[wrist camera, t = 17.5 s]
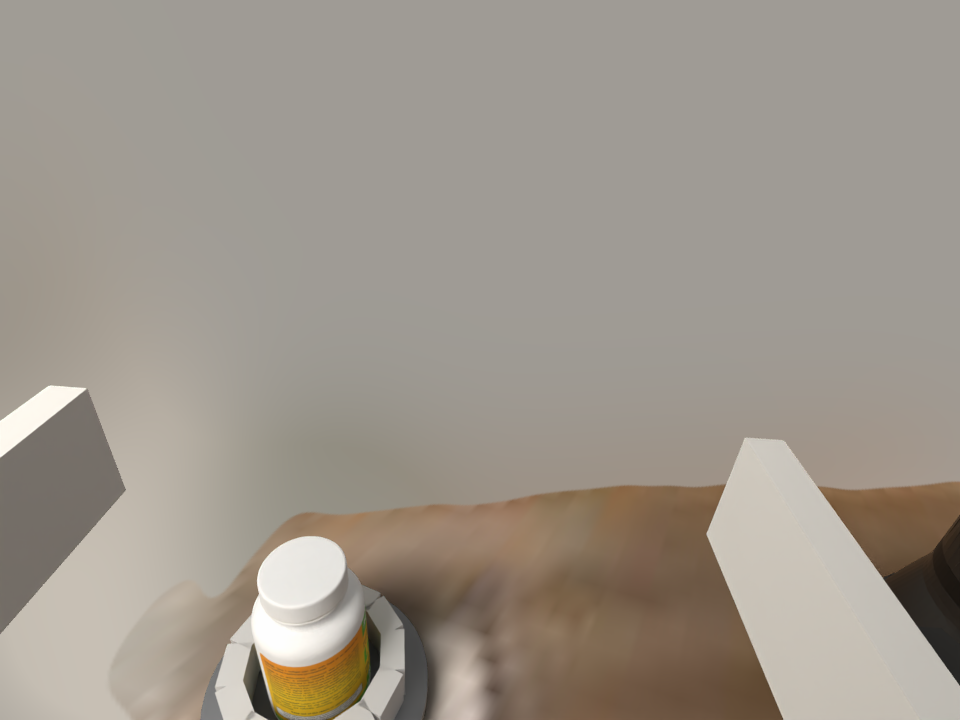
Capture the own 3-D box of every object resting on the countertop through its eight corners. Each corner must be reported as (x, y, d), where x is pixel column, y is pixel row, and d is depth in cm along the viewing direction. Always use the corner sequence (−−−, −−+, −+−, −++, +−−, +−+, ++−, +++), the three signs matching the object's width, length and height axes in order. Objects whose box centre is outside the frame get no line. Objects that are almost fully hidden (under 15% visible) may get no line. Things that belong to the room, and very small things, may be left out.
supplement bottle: (388, 695, 34) (382, 581, 28) (292, 762, 30) (262, 647, 25) (346, 620, 38) (333, 508, 32) (257, 671, 35) (225, 555, 29)
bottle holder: (461, 644, 39) (463, 606, 36) (349, 884, 27) (343, 850, 25) (304, 574, 43) (297, 536, 40) (151, 757, 31) (130, 718, 29)
